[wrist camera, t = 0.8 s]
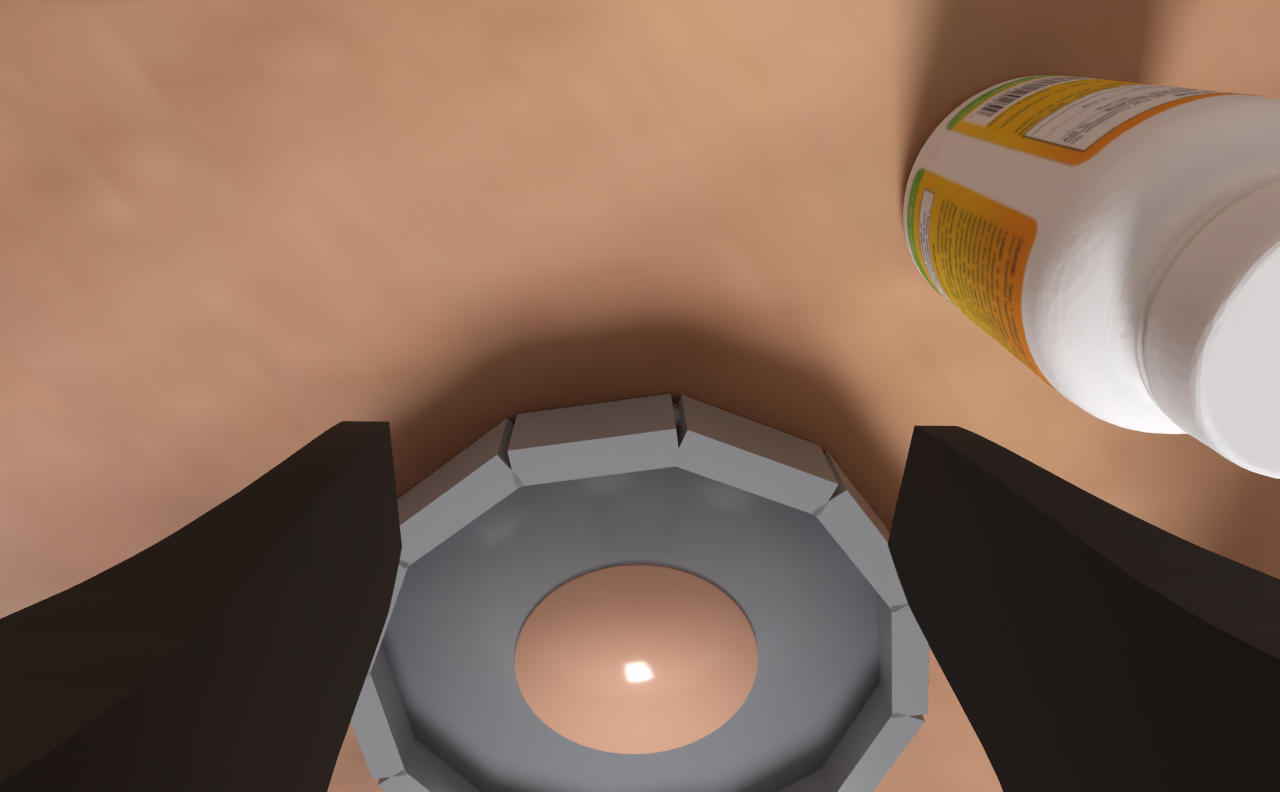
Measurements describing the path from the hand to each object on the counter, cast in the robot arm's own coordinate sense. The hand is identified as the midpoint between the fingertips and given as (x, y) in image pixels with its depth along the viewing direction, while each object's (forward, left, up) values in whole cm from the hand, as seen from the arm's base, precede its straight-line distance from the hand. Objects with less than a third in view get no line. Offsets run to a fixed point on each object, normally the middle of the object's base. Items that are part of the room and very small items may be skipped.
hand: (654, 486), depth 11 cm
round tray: (-9, +7, -9) cm, 14 cm away
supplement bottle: (-4, -8, -9) cm, 13 cm away
